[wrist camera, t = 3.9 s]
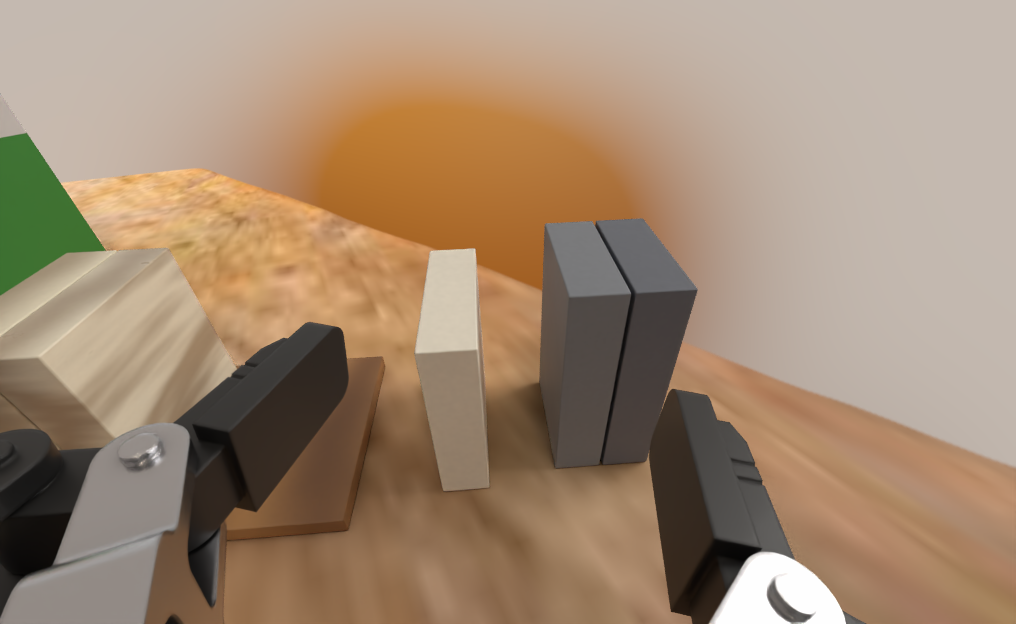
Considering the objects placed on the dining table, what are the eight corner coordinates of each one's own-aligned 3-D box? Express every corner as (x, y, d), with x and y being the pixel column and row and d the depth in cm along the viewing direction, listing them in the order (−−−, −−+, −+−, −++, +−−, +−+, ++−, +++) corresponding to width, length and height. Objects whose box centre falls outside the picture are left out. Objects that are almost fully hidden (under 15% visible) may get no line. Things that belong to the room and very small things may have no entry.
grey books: (613, 376, 35) (643, 217, 26) (646, 461, 28) (698, 289, 20) (539, 381, 35) (544, 223, 26) (555, 469, 28) (569, 296, 20)
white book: (485, 376, 35) (475, 247, 28) (489, 488, 27) (477, 349, 20) (448, 378, 35) (429, 250, 28) (442, 492, 27) (413, 353, 20)
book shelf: (385, 366, 36) (347, 224, 28) (348, 530, 25) (268, 373, 17) (181, 379, 36) (83, 237, 28) (49, 555, 24) (-180, 403, 16)
